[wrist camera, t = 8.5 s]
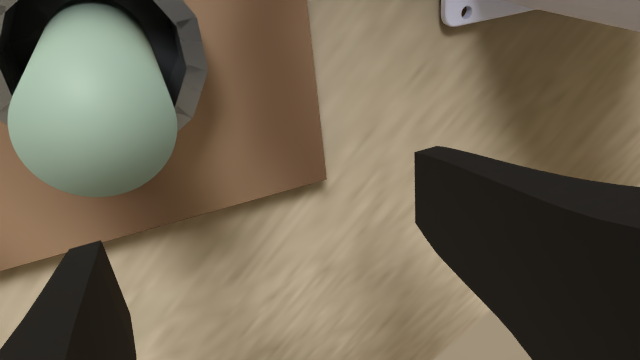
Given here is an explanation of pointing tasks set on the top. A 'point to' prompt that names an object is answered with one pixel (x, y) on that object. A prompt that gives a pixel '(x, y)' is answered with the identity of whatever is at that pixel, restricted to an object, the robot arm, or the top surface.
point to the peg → (93, 103)
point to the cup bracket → (192, 121)
